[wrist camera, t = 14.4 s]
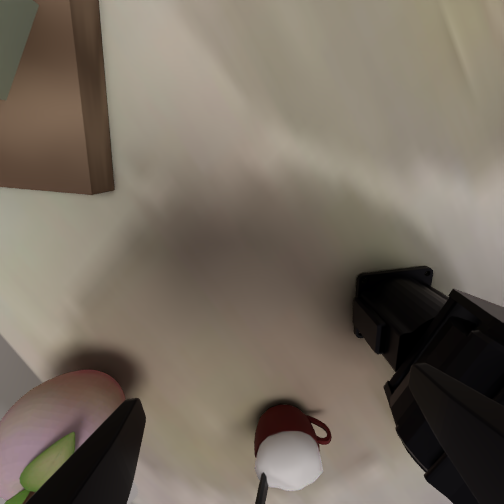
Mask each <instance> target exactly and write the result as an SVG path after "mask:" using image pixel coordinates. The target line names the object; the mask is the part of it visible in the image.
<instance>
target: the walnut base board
mask: <svg viewBox="0 0 504 504" xmlns="http://www.w3.org/2000/svg"><path fill="white" fill-rule="evenodd" d="M33 1H34V2H36V3H37V4H38V5H39V7H38V10H37V12H36V15H35V18H34V21H33V24H32V27H31V30H30V33H29V36H28V39H27V42H26V45H25V47H24V50H23V53H22V56H21V59H20V62H19V65H18V68H17V71H16V74H15V77H14V80H13V82H12V85H11V88H10V91H9V94H8V97H7V100H6V101H5V100H2V99H0V187H8V188H19V189H31V190H42V191H54V192H65V193H77V194H88V195H93V194H98V193H103V192H107V191H112V190H114V179H113V167H112V155H111V144H110V132H109V120H108V108H107V96H106V85H105V73H104V61H103V49H102V38H101V26H100V14H99V2H98V0H33Z"/></svg>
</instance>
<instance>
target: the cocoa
mask: <svg viewBox="0 0 504 504" xmlns="http://www.w3.org/2000/svg"><path fill="white" fill-rule="evenodd" d="M311 423H313V424H315V425H317V426H319V427H321V428H322V429H324V430H325V431H326V433H327V437H325V438H320V437H318V436H317V435H316V434H315V431H314V429H313V427H312V425H311ZM330 441H331V432H330V430H329V428H328V427H327V426H326V425H325V424H324V423H322V422H321V421H319V420H317V419H315V418H313V417H310V416H308V415H305V414H304V413H303V412H302V411H301V410H299V409H298V408H297V407H294V406H291V405H277V406H274V407H271V408H269V409H268V410H267V411H266V412H265V413H263V415H262V416H261V417H260V420H259V422H258V425H257V429H256V433H255V441H254V450H255V457H256V462H255V471H256V473H257V476H258V478H259V480H260V483H259V488H258V493H257V497H256V502H255V504H265V501H266V496H267V490H268V486H269V487H275V488H280V489H283V490H286V491H296V490H301V489H303V488H304V487H305V486H307V485H309V484H311V483H313V482H314V481H315V480H316V479H317V478H318V477H319V476H320V475H321V474H322V473H323V468H322V462H321V457H320V453H319V451H320V450H319V444H322V445H326V444H329V443H330Z"/></svg>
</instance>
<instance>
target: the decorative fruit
mask: <svg viewBox="0 0 504 504" xmlns="http://www.w3.org/2000/svg"><path fill="white" fill-rule="evenodd" d="M123 401H125V396H124V393H123V390H122V389H121V387H120V385H119V384H118V383H117V381H116V380H115V379H114V378H112V377H111V376H110V375H108V374H106V373H104V372H101V371H97V370H78V371H73V372H69V373H65V374H62V375H60V376H57V377H55V378H52V379H50V380H48V381H46V382H44V383H42V384H40V385H38V386H37V387H35V388H33V389H32V390H30V391H29V392H27V393H26V394H25V395H24V396H23V397H21V398H20V399H19V400H18V401H17V402H16V403H15V404H14V405H13V406H12V407H11V408H10V409H9V410H8V412H7V413H6V414H5V416H4V417H3V418H2V420H1V421H0V497H2V498H3V499H5V500H6V502H5V504H25V503H26V502H27V501H28V500H29V499H30V498H31V497H32V496H33V494H34V493H35V492H36V491H37V490H38V489H39V488H40V487H41V486H42V485H43V484H44V483H45V482H46V481H47V480H48V479H49V478H50V477H51V476H52V475H53V474H54V473H55V472H56V471H57V470H58V469H59V468H60V467H61V466H62V464H63V463H64V462H65V461H66V460H67V459H68V458H69V457H70V456H71V455H72V454H73V453H74V452H75V451H76V450H77V449H78V448H79V447H80V446H81V445H82V444H83V443H84V442H85V441H86V440H87V439H88V438H89V437H90V435H91V434H92V433H93V432H94V431H95V430H96V429H97V428H98V427H99V426H100V425H101V424H102V423H103V422H104V421H105V420H106V419H107V418H108V417H109V416H110V415H111V414H112V413H113V412H114V411H115V410H116V409H117V408H118V407H119V405H120V404H121V403H122V402H123Z"/></svg>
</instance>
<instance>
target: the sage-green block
mask: <svg viewBox="0 0 504 504" xmlns="http://www.w3.org/2000/svg"><path fill="white" fill-rule="evenodd" d="M38 7H39V5H38V4H37V3H36V2H34V1H33V0H0V99H2V100H5V101H6V100H7V97H8V94H9V91H10V88H11V85H12V82H13V80H14V77H15V74H16V71H17V68H18V65H19V62H20V59H21V56H22V53H23V50H24V47H25V45H26V42H27V39H28V36H29V33H30V30H31V27H32V24H33V21H34V18H35V15H36V12H37V10H38Z"/></svg>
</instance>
